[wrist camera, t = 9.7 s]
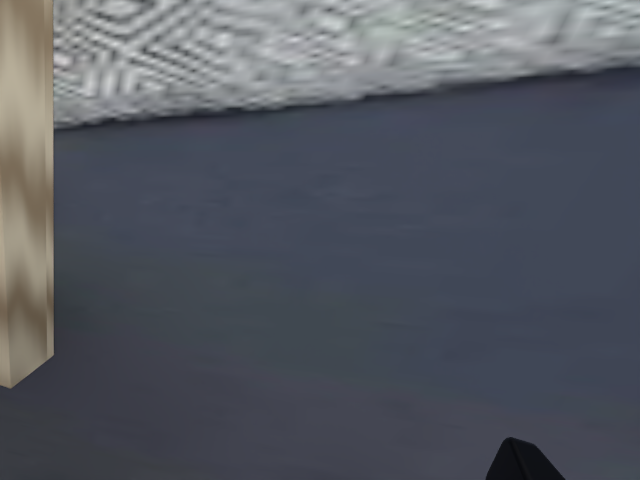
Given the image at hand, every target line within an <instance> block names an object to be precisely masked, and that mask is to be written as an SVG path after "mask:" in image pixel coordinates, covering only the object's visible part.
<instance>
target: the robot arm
mask: <svg viewBox="0 0 640 480" xmlns="http://www.w3.org/2000/svg"><path fill="white" fill-rule="evenodd" d="M486 480H565V478H564V477H563V476H562V475H561V474H560V473H559V472H558V470H557V469H556V468H555V467H554V466H553V465H552V463H551V462H550V461H549V460H548V459H547V458H546V457H545V455H544V454H543V453H542V452H541V451H540V450H539V449H538V448H537V446H535V445H534V444H532V443H529V442H526V441H522V440H519V439H516V438H513V437H509V438H506V439H505V440H504V441H503V442H502V444H501V446H500V448H499V450H498V452H497V454H496V457H495V459H494V461H493V463H492V465H491V467H490V469H489V471H488V473H487V476H486Z"/></svg>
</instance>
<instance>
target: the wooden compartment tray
mask: <svg viewBox="0 0 640 480" xmlns="http://www.w3.org/2000/svg"><path fill="white" fill-rule="evenodd" d="M53 355H54V267H53V0H0V385H2V386H5V387H8V388H12V387H14V386H15V385H16V384H17V383H19V382H20V381H21V380H23V379H24V378H25V377H26V376H28V375H29V374H30V373H32V372H33V371H34V370H35V369H37V368H38V367H39V366H41V365H42V364H43V363H44V362H46V361H47V360H48V359H49V358H51V357H52V356H53Z"/></svg>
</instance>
